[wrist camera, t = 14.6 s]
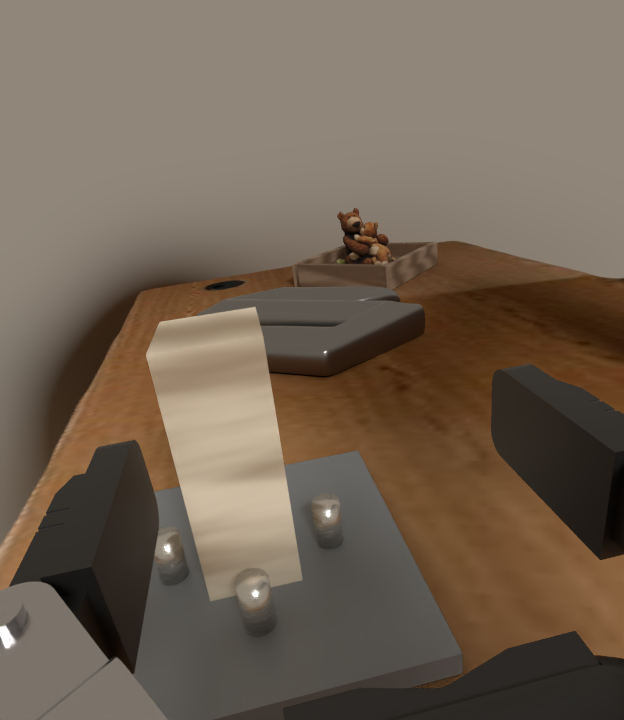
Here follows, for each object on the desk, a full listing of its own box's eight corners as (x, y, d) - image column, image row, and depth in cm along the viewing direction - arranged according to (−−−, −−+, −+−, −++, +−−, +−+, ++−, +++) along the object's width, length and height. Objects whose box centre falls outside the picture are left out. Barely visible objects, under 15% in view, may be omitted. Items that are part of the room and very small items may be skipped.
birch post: (211, 537, 28) (159, 322, 23) (290, 520, 29) (255, 306, 24) (210, 601, 24) (145, 354, 19) (302, 580, 24) (262, 335, 20)
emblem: (172, 356, 47) (198, 290, 72) (184, 405, 49) (205, 324, 74) (454, 313, 49) (382, 264, 74) (455, 363, 51) (384, 298, 76)
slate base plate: (131, 511, 33) (117, 465, 32) (359, 464, 35) (354, 419, 34) (62, 781, 18) (30, 717, 17) (462, 673, 20) (462, 608, 19)
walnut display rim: (350, 262, 105) (349, 243, 103) (437, 263, 94) (437, 242, 92) (294, 286, 90) (291, 264, 88) (390, 290, 79) (389, 266, 77)
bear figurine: (347, 288, 85) (340, 216, 80) (324, 273, 98) (317, 210, 94) (419, 275, 87) (417, 204, 83) (388, 262, 101) (384, 201, 96)
